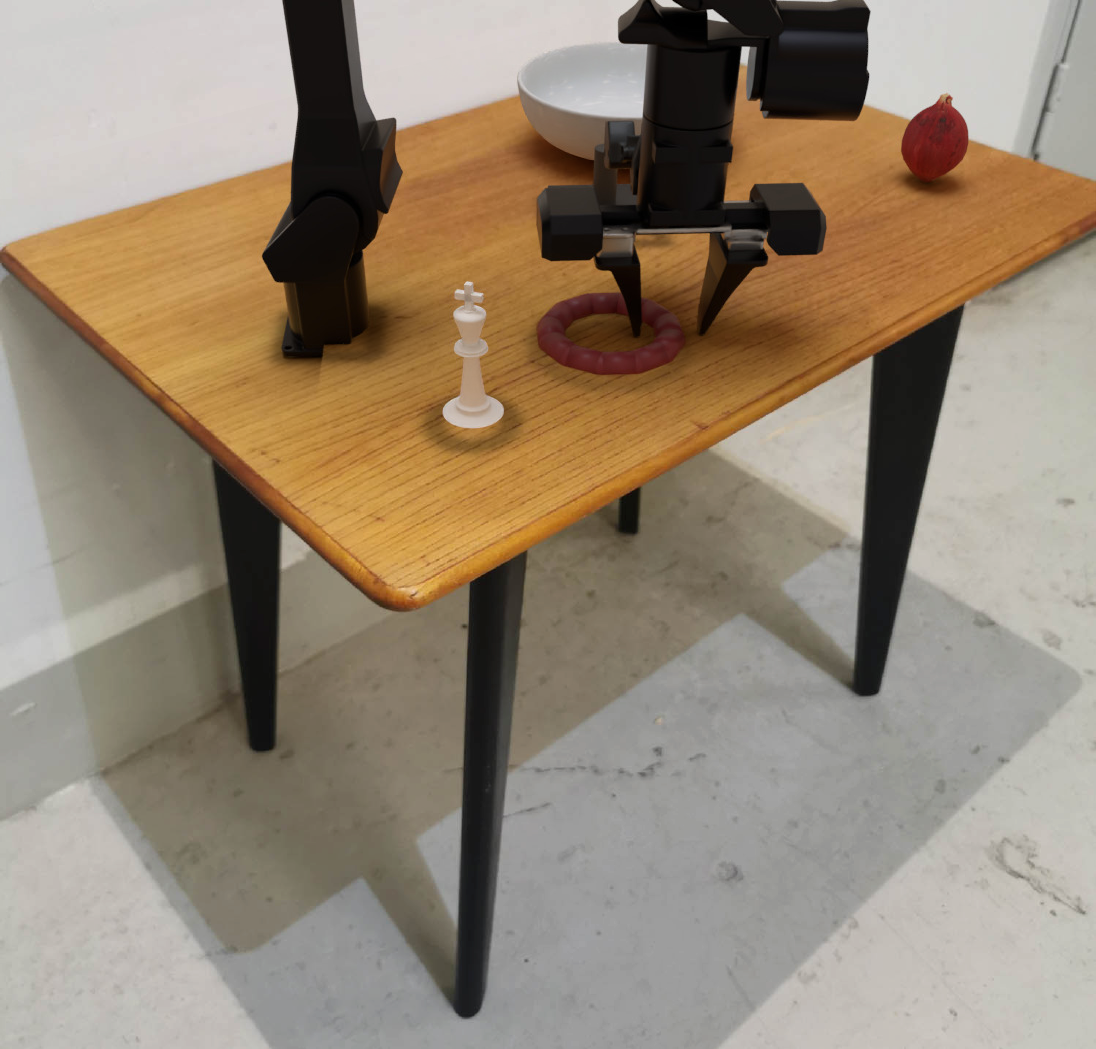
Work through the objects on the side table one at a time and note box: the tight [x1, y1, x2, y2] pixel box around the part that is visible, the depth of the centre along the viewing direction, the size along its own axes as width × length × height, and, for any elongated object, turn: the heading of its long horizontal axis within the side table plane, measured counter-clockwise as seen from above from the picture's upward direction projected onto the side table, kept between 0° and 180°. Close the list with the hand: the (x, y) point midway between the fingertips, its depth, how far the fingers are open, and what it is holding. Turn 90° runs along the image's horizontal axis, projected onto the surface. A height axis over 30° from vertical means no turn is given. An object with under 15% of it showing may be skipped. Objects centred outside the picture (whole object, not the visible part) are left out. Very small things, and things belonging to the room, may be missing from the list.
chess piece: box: [442, 281, 505, 429], centre depth 70 cm, size 5×5×10 cm
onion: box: [900, 92, 969, 183], centre depth 102 cm, size 6×6×8 cm
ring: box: [535, 291, 686, 376], centre depth 80 cm, size 10×10×2 cm
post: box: [547, 144, 637, 206], centre depth 95 cm, size 9×9×6 cm
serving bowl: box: [516, 41, 739, 161], centre depth 108 cm, size 21×21×7 cm
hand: (668, 333), depth 80 cm, fingers open, 4 cm apart
